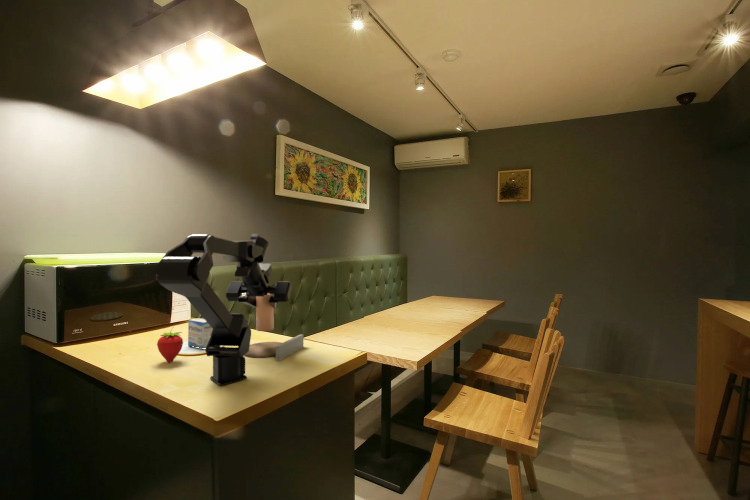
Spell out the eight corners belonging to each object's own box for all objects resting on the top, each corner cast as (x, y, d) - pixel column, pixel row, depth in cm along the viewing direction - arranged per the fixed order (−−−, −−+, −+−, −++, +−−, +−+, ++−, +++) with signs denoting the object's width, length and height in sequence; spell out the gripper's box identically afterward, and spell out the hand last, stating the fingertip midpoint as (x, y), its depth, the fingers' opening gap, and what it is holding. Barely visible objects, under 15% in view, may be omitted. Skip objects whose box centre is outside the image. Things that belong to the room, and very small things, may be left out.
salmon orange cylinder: (270, 331, 106) (270, 295, 106) (253, 331, 106) (253, 295, 106) (276, 327, 111) (275, 292, 111) (259, 327, 112) (259, 292, 112)
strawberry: (173, 357, 102) (173, 323, 102) (188, 361, 99) (188, 326, 98) (152, 363, 97) (151, 327, 97) (166, 368, 94) (166, 330, 93)
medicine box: (187, 346, 113) (187, 320, 113) (200, 343, 117) (200, 317, 117) (203, 350, 110) (203, 322, 110) (215, 346, 114) (215, 319, 114)
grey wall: (279, 360, 100) (279, 346, 99) (275, 360, 100) (275, 346, 100) (303, 346, 113) (303, 334, 113) (300, 346, 113) (300, 334, 113)
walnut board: (254, 361, 99) (254, 358, 99) (233, 350, 109) (233, 348, 109) (297, 350, 109) (297, 347, 109) (273, 341, 119) (273, 339, 119)
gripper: (290, 254, 104) (300, 287, 115) (229, 254, 105) (245, 287, 117) (281, 283, 96) (293, 316, 107) (216, 283, 98) (234, 315, 109)
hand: (266, 307), depth 110 cm, fingers closed on salmon orange cylinder, 5 cm apart
